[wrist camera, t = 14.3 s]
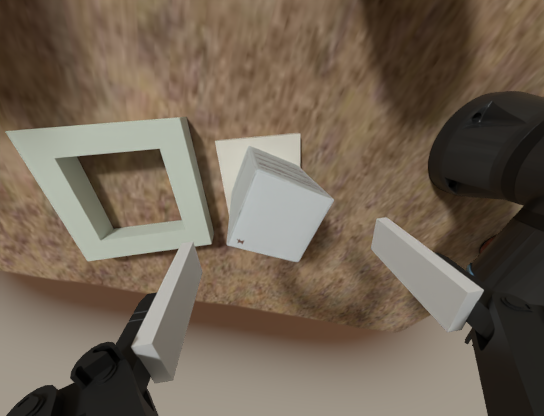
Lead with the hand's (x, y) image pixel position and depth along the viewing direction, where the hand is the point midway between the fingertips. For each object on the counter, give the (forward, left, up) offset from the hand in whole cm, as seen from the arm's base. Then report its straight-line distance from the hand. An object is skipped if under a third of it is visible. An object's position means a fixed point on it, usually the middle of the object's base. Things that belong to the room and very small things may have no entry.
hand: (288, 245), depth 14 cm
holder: (+17, 0, -16) cm, 24 cm away
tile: (0, 0, -16) cm, 16 cm away
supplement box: (0, 0, -16) cm, 16 cm away
